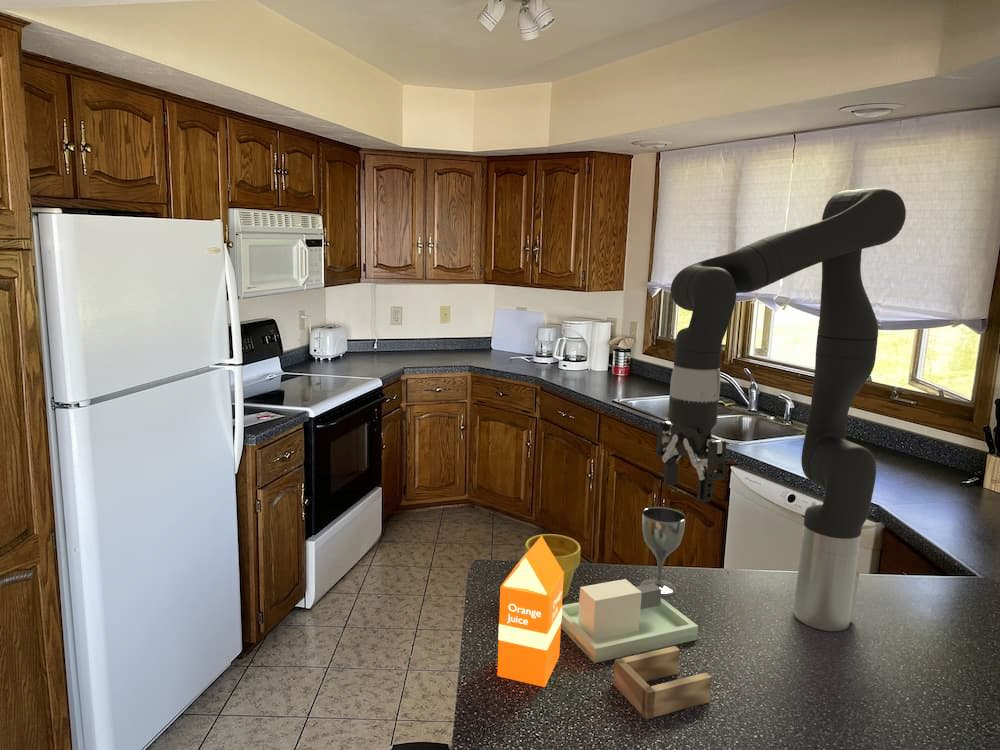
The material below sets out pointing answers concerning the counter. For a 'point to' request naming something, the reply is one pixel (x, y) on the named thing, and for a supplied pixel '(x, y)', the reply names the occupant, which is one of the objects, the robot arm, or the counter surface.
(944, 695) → the counter surface
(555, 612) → the orange juice
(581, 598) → the cream and grey blocks
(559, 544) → the plant pot
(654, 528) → the wine glass
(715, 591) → the counter surface
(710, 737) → the counter surface
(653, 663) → the dock
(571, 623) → the tray
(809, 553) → the robot arm
